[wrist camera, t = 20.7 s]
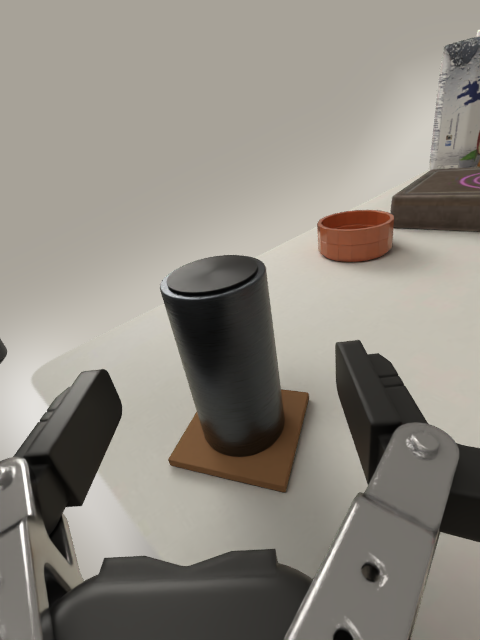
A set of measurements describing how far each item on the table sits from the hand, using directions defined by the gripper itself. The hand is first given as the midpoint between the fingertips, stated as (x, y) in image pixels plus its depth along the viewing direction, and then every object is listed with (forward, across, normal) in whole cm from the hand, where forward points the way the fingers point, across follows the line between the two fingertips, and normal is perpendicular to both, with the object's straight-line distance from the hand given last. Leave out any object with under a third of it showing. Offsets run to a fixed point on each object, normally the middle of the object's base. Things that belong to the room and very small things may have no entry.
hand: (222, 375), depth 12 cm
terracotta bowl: (+39, +15, -10) cm, 43 cm away
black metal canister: (+7, -1, -10) cm, 12 cm away
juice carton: (+77, +48, -10) cm, 92 cm away
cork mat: (+7, -1, -11) cm, 13 cm away
